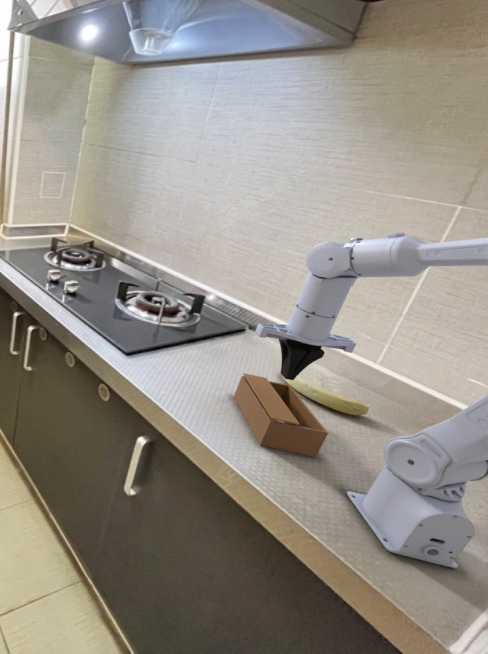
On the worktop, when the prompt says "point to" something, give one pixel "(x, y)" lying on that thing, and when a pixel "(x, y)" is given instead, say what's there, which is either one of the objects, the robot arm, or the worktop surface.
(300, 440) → the carton
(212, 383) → the worktop surface
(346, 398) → the fruit
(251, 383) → the brown box flap
